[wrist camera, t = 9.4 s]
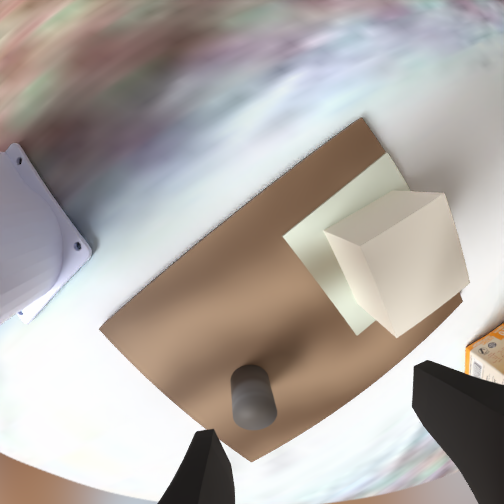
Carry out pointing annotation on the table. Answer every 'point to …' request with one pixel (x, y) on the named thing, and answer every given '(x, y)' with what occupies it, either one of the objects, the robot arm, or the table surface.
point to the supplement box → (487, 357)
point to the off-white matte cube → (400, 257)
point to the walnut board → (271, 307)
